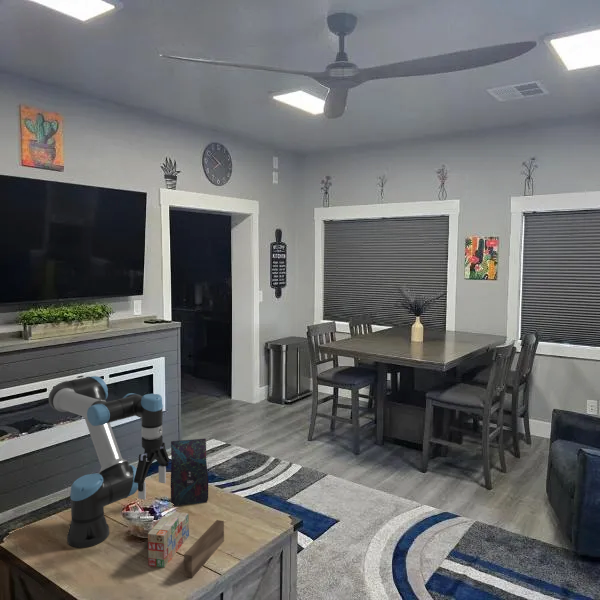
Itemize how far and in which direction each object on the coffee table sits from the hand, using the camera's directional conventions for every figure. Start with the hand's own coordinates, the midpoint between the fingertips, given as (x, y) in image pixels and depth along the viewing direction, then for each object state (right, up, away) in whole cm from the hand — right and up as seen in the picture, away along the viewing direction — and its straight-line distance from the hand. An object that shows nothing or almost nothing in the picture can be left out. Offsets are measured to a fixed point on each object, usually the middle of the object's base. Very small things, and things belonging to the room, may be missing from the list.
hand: (152, 490), depth 192 cm
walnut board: (+21, -22, -6) cm, 31 cm away
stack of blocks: (+7, -22, -1) cm, 23 cm away
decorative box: (+6, -19, +37) cm, 42 cm away
